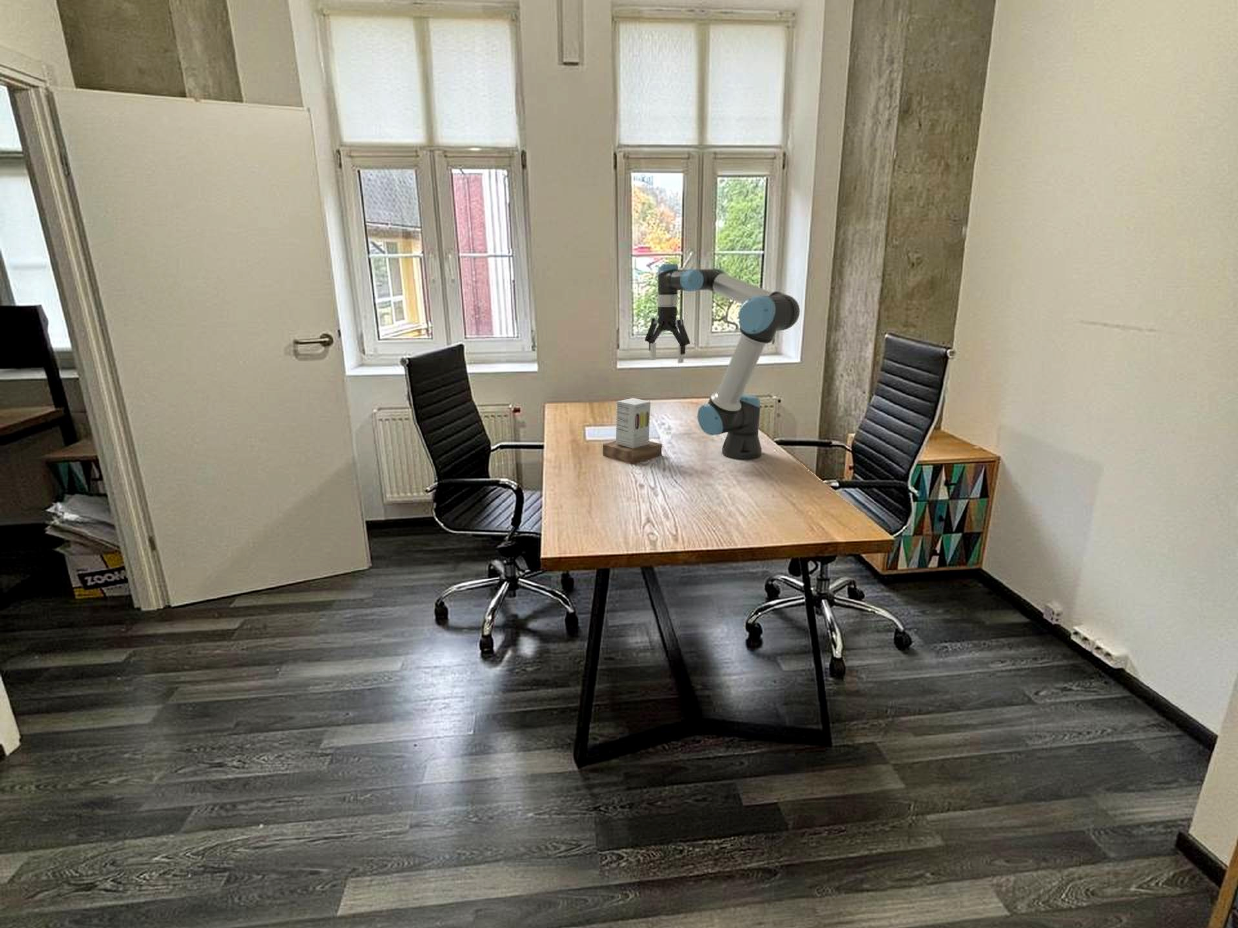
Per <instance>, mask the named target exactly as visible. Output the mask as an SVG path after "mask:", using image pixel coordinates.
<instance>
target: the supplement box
mask: <svg viewBox="0 0 1238 928" xmlns="http://www.w3.org/2000/svg"><path fill="white" fill-rule="evenodd" d="M650 418H651V401H649V400H645V399H639V398H635V397H631V398H627V399H623V400H617V401H616V422H615V423H616V424H615V425H616V426H615V427H616V428H615V441H616V444H619V445H622V446H626V447H629V448H632V449H634V448H637V447H640V446H644V445H647V444H649V441H650Z"/></svg>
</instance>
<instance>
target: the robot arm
mask: <svg viewBox="0 0 1238 928" xmlns="http://www.w3.org/2000/svg"><path fill="white" fill-rule="evenodd" d="M657 270H658V271H657V305H658V306H657V316H658V317H652V318H651V320H650V321H651V323H650V326H649V328H648V331H647V332H646V335H645V338H644V341H645V342H647V343H648V350H649V353H650V354H649V355H650V356H649V357H650V358H649V359H650V361H655V360H656V359H657V343H656V340H657V339H658V337H659V336H661V335H660V334H661V333H662V332H663V331H667V332H668V331H669V332H671V333H672V335H673V336H674V337H675V339H676V341H677V343H678V344H679V345H678V346H677V364H681V363H684V355H686V346H687V345H690V344H691V341H690V338H689V336H688V333H687V329H686V326H685V324H684V323H685V321H684V319H683V318H680V319H677V316H678V307H677V305H678V291H684V292H685V291H687V292H695V291H709V292H713V293H715V294H716V295H717V294H718V295H720V296H722V297H725V298H727V299H729V300H731V301H733V302H736V303H738V304H741V306H740V308H739V311H738V317H737V318H738V319H739V320H738V324H739V333H740V338H739V340H738V342H737V344H736V347H735V350H734V352H733V354H732V356H731V359H730V362H729V363H728V366H727V369H726V371H725V373H724V376H723V378H722V380H721V382H720V384H719V387H718V389H717V391H713V392H712V394H711V395H710V398H709V400H708V401H707V403H704V404H703V405H701V406H700V407H699V408H698V410H697V414H696V415H697V417H696V418H697V421H698V424H699V427H700V429H701V430H702V431H703V433H705V434H707V435H709V436H720V435H722V434H726V437H725V439H724V442H723V445H722V448H721V454H722V455H723V456H725V457H727V458H729V459H730V458H731V459H736V460H752V459H753V460H754V459H757V458H760V457H761V456H762V452H763V450H762V445H761V441H760V437H759V427H760V415H761V400H760V398H759V397H757V396H756V395H755V396H754V395H749V394H744V392H745V390H746V388H747V385H748V383H749V381H750V378H751V376H752V374H753V372H754V369H755V368H756V366H757V364H758V362H759V359H760V357H761V354H762V353H763V350H764V347H766V345H768V344H771V342H772V341H773V339H774V337H775V335H776V333H777V331H779V332H780V331H785V330H788V329H791V327H793V326H794V325H795V324H796V323H797V322H798V319H799V317H800V314H801V310H800V305H799V302H798V301H797V300H796V299H795V298H794V297H793V296H791V295H788V294H786V293H782V292H780V291H779V290H776V291H775V290H774V291H769V290H767V289H764V288H761V287H759V286H757V285H755V284H754V285H753V284H751V283H749V282H746V281H744V280H741V279H738V278H736V277H734V276H731V275H728V274H726V273H725V270H724V269H720V268H718V269H717V268H709V269H708V268H706V269H704V268H702V269H693V268H689V269H679V265H678V264H677V263H661V264H659V265H658V269H657Z"/></svg>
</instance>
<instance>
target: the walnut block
mask: <svg viewBox="0 0 1238 928" xmlns="http://www.w3.org/2000/svg"><path fill="white" fill-rule="evenodd" d="M662 447H663V444H662V443H660V442H659V443H658V442H655V441H650V440H649V444H647V445H644V446H640V447H637V448H634V449H632V448H629V447H626V446H622V445H619V444H616V440H614V441H610V442H607V443H603V444H602V456H603V457H606V458H610V459H614V460H617V461H621V462H624V463H628V464H630V465H635V464H639V463H642V462H645V461H648V460H651V459H654V458H658V457H660V456H662V452H663V451H662V450H663V449H662Z"/></svg>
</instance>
